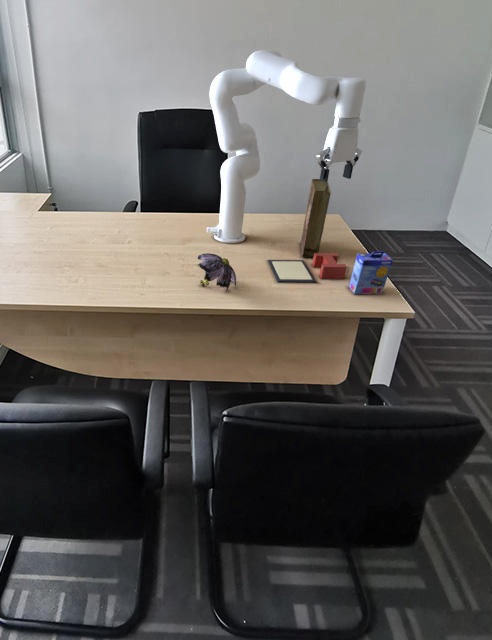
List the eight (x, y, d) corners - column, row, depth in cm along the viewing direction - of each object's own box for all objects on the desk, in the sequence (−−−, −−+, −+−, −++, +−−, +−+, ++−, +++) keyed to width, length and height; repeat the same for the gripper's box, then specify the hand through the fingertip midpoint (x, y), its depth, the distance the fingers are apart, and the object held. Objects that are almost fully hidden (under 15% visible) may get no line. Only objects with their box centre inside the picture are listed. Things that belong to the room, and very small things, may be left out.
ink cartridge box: (354, 295, 158) (365, 253, 150) (347, 287, 163) (357, 246, 155) (383, 294, 159) (396, 252, 151) (376, 286, 163) (387, 245, 155)
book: (300, 242, 196) (311, 178, 182) (314, 243, 195) (327, 179, 181) (301, 258, 183) (314, 190, 169) (317, 259, 182) (331, 191, 168)
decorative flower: (238, 271, 150) (196, 248, 153) (221, 303, 155) (181, 281, 158) (249, 265, 162) (210, 245, 166) (233, 296, 167) (196, 275, 171)
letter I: (321, 278, 168) (323, 266, 166) (312, 264, 178) (314, 252, 175) (344, 279, 168) (347, 267, 166) (333, 264, 178) (336, 253, 176)
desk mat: (277, 282, 165) (278, 281, 165) (268, 260, 180) (268, 259, 180) (316, 282, 166) (316, 281, 165) (303, 261, 180) (303, 259, 180)
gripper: (358, 119, 158) (347, 174, 167) (315, 123, 152) (306, 179, 162) (375, 122, 152) (363, 179, 162) (331, 126, 147) (321, 185, 156)
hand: (335, 179), depth 162 cm, fingers open, 9 cm apart
